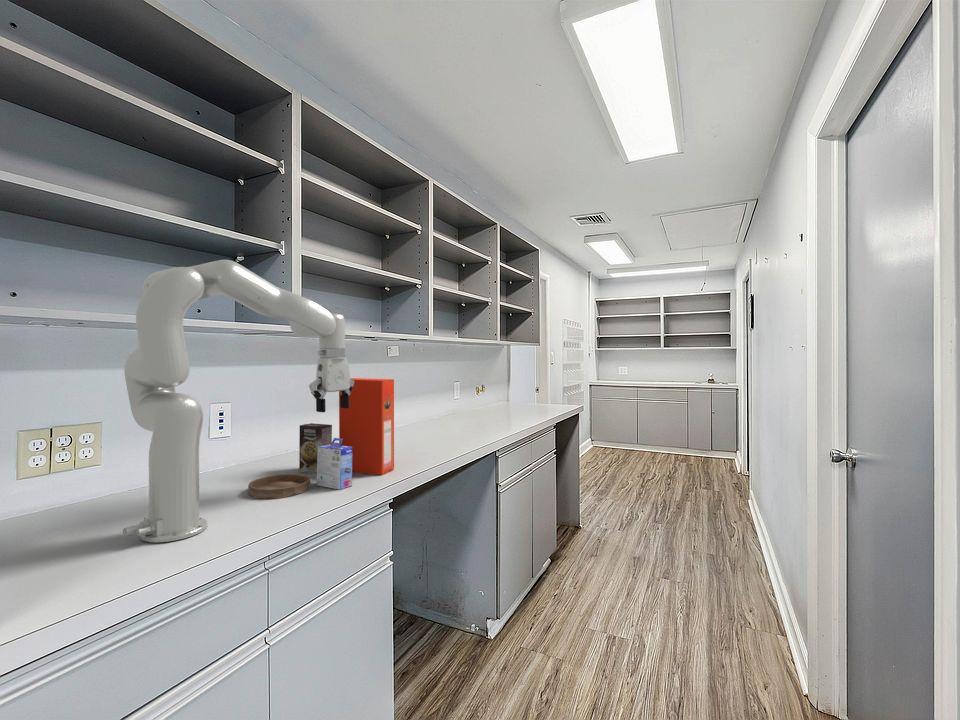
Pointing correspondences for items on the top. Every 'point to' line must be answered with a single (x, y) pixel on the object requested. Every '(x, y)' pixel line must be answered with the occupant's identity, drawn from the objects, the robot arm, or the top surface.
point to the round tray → (279, 486)
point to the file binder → (369, 425)
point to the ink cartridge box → (334, 465)
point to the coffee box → (312, 444)
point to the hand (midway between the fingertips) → (333, 409)
